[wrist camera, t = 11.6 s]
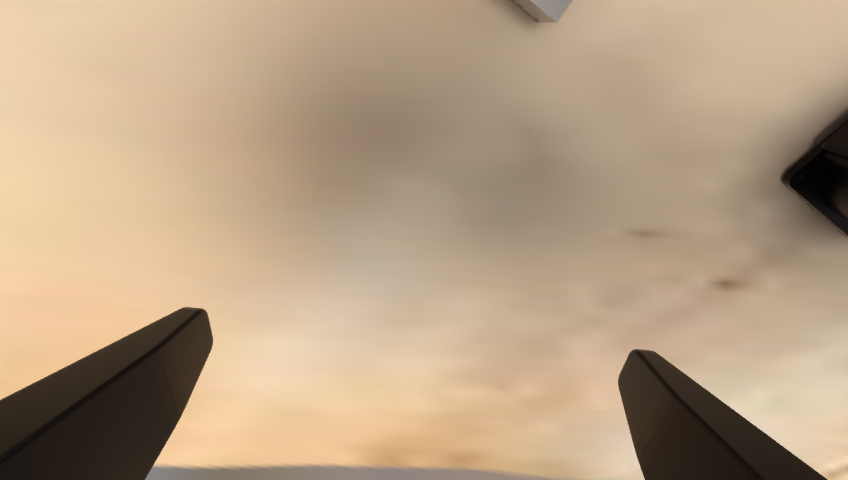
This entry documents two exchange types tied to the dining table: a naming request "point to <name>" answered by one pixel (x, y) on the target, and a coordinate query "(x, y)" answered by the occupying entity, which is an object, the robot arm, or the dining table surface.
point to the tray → (544, 9)
